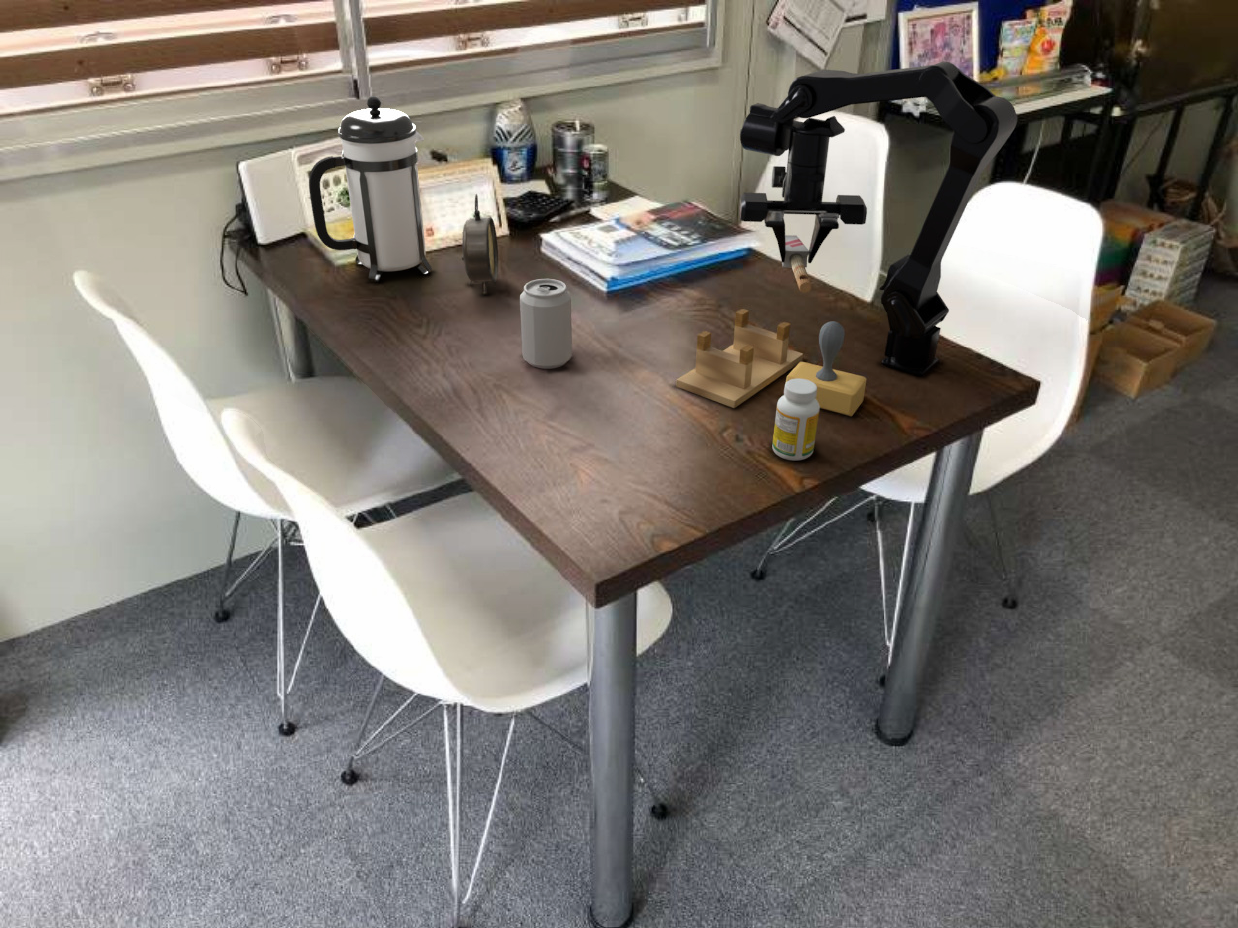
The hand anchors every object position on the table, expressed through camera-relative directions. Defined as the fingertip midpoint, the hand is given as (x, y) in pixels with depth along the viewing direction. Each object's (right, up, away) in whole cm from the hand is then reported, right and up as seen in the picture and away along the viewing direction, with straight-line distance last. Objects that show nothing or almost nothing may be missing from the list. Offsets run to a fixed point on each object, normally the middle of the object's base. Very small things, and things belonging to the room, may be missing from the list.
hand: (796, 262), depth 157 cm
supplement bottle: (-5, -30, -26) cm, 40 cm away
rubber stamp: (+1, -23, -15) cm, 27 cm away
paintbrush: (0, -1, +1) cm, 1 cm away
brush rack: (-10, -18, -8) cm, 22 cm away
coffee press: (-69, +3, +24) cm, 74 cm away
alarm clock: (-52, -1, +19) cm, 55 cm away
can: (-38, -16, -5) cm, 42 cm away
